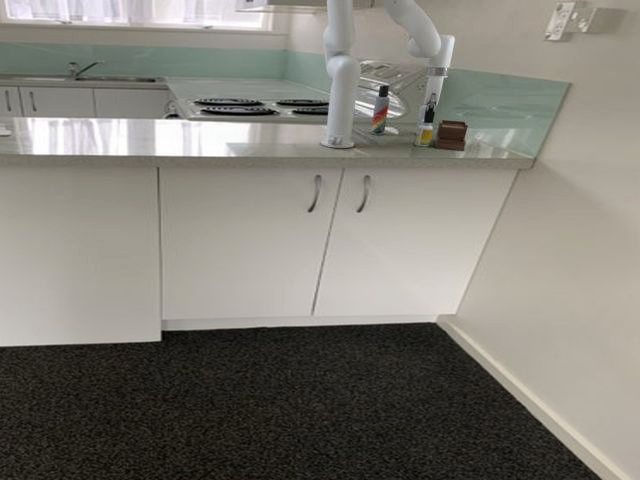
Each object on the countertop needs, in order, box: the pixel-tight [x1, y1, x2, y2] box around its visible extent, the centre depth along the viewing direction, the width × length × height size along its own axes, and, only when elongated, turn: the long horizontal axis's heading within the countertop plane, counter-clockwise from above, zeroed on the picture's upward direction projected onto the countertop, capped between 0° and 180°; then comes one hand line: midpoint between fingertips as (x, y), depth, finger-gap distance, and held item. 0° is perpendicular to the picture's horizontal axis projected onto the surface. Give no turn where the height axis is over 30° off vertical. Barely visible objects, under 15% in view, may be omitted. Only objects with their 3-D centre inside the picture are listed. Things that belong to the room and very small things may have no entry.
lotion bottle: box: [370, 85, 390, 136], centre depth 180 cm, size 6×6×20 cm
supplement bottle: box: [414, 120, 434, 147], centre depth 164 cm, size 5×5×10 cm
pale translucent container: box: [414, 104, 427, 136], centre depth 183 cm, size 5×5×12 cm
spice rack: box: [434, 119, 469, 152], centre depth 165 cm, size 15×10×8 cm, turn 159°
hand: (428, 120), depth 162 cm, fingers open, 9 cm apart
